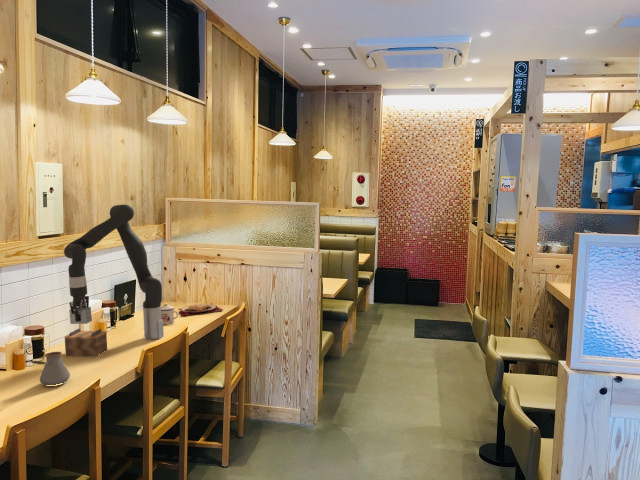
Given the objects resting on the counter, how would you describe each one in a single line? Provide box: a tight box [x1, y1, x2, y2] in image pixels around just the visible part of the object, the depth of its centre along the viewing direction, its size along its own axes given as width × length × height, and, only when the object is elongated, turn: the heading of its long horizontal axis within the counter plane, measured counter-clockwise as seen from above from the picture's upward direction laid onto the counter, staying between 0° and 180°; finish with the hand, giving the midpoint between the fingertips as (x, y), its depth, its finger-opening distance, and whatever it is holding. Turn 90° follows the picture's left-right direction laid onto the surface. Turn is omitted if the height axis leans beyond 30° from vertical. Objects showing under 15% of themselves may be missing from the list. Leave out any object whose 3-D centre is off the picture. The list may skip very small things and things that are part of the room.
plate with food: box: [177, 303, 224, 316], centre depth 340 cm, size 25×26×4 cm
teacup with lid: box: [161, 302, 179, 325], centre depth 309 cm, size 12×9×12 cm
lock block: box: [68, 306, 93, 325], centre depth 246 cm, size 8×5×7 cm, turn 87°
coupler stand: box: [64, 328, 108, 357], centre depth 253 cm, size 16×10×11 cm, turn 86°
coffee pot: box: [30, 351, 71, 386], centre depth 209 cm, size 21×12×15 cm, turn 178°
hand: (81, 319), depth 246 cm, fingers closed on lock block, 5 cm apart
